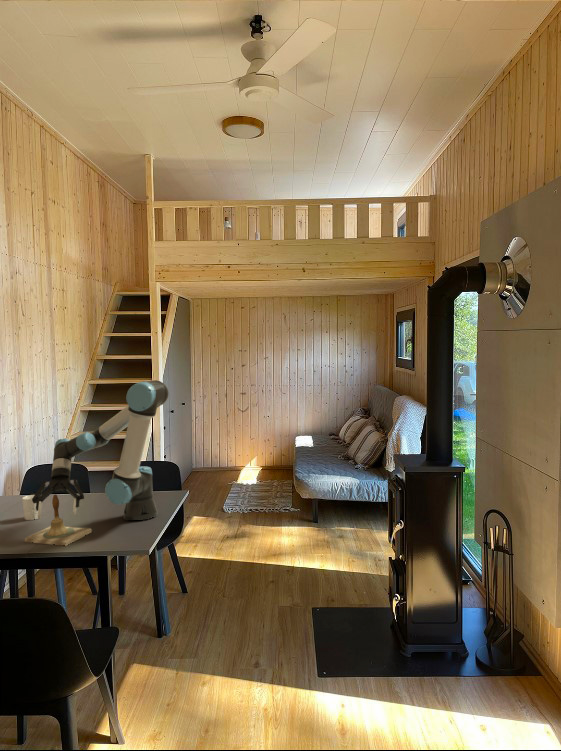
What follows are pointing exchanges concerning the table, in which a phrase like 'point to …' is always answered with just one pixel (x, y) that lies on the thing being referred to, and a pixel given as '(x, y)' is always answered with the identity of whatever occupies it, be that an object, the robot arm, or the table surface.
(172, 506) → the table surface
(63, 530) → the hand bell
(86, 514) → the table surface
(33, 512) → the white cup
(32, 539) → the bell board
